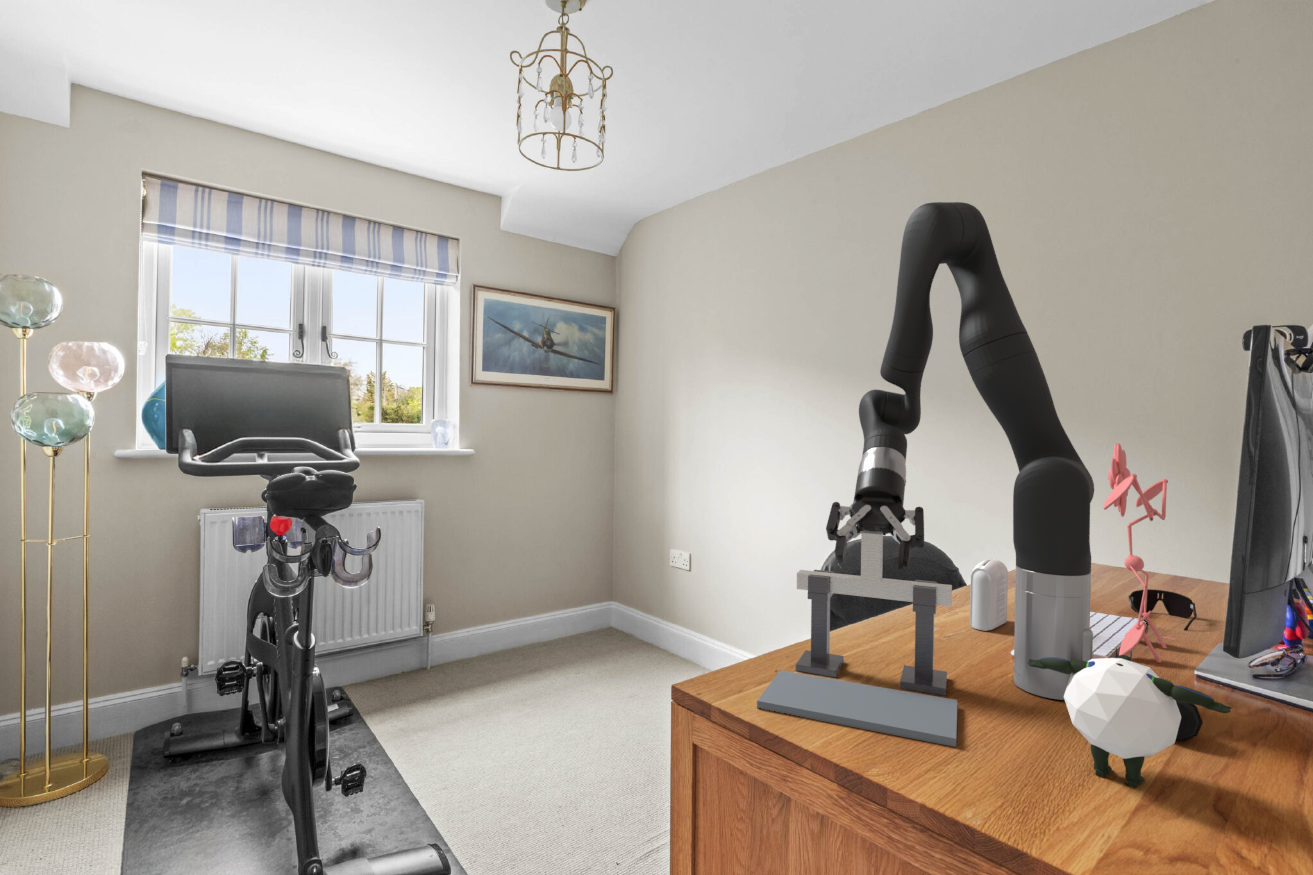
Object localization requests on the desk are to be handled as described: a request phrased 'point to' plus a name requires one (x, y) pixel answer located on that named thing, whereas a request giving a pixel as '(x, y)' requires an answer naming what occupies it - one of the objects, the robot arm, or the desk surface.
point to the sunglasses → (1171, 601)
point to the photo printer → (988, 595)
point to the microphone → (1188, 721)
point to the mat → (863, 707)
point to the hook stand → (830, 664)
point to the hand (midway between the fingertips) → (870, 563)
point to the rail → (874, 577)
